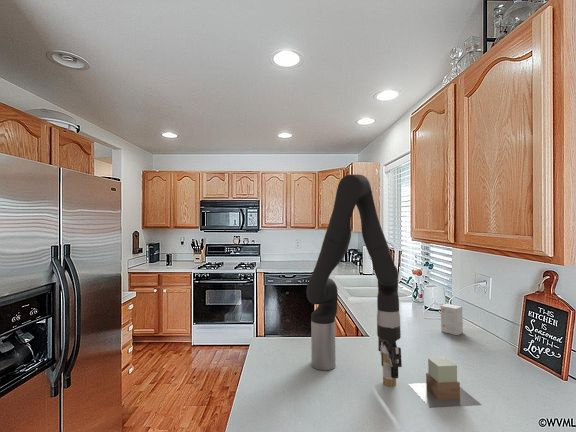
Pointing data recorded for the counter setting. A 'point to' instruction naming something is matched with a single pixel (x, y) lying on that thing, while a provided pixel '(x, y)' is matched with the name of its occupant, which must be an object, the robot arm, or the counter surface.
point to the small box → (451, 319)
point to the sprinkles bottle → (387, 370)
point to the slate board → (433, 402)
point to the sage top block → (442, 370)
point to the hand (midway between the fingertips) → (389, 372)
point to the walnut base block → (443, 389)
